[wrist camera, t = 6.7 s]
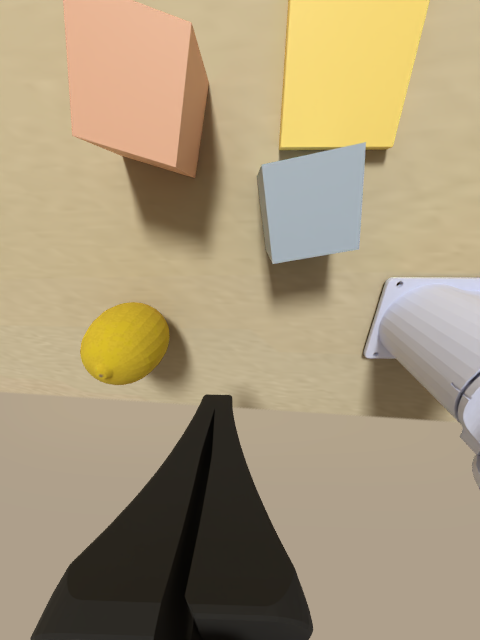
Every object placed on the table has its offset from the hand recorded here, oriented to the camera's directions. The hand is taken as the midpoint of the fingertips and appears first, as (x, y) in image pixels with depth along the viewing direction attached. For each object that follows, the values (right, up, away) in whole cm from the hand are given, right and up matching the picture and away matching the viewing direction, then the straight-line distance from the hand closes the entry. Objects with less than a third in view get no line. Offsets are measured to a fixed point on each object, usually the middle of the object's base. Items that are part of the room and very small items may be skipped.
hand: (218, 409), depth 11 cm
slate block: (+5, +13, +5) cm, 15 cm away
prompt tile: (+7, +19, +2) cm, 20 cm away
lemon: (-7, +5, +9) cm, 13 cm away
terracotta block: (-4, +17, +3) cm, 18 cm away
